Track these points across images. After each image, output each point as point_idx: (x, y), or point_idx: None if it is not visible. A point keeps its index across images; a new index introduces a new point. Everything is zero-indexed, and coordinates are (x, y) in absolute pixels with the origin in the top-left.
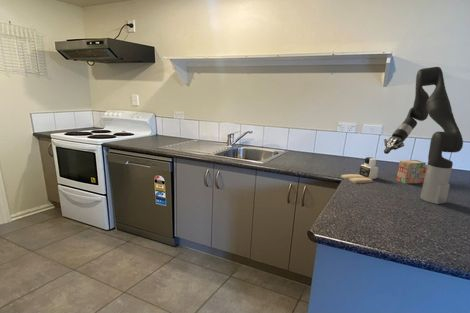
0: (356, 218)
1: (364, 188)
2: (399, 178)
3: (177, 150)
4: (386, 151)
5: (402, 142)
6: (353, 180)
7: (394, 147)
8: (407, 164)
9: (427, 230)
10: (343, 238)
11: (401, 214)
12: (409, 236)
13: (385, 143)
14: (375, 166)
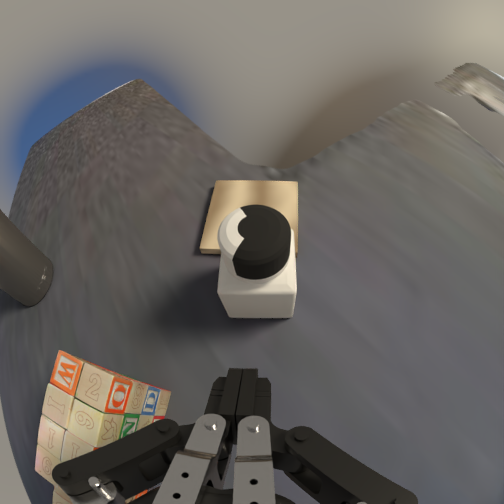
0: (118, 109)
1: (174, 180)
2: (147, 384)
3: (475, 80)
4: (228, 375)
5: (58, 479)
6: (230, 181)
7: (156, 430)
8: (69, 354)
9: (46, 161)
10: (113, 91)
11: (73, 161)
12: (63, 136)
13: (325, 452)
14: (229, 276)
